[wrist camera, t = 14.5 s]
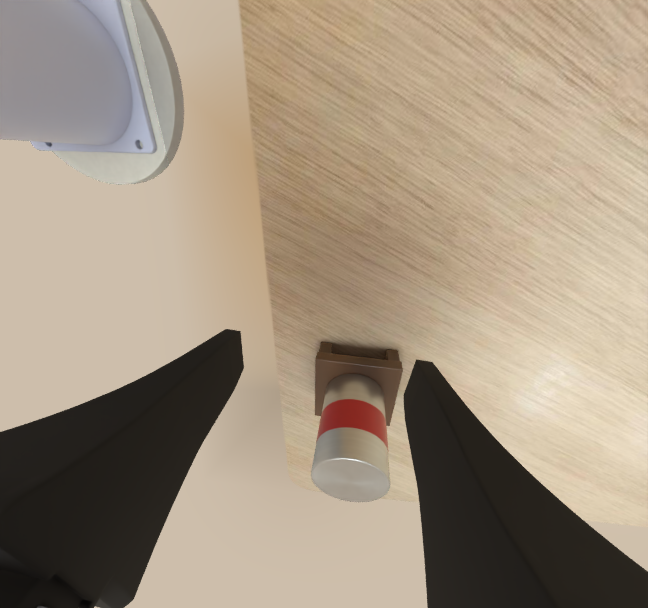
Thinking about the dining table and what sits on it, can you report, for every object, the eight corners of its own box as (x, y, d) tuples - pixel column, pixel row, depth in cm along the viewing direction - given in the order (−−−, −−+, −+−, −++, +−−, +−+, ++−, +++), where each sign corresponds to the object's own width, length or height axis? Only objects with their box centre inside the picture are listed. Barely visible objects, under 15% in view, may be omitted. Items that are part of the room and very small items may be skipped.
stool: (318, 394, 26) (314, 415, 24) (320, 340, 23) (315, 359, 21) (387, 404, 26) (389, 426, 23) (399, 349, 22) (403, 369, 20)
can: (317, 401, 23) (300, 486, 17) (338, 364, 21) (326, 448, 15) (368, 420, 24) (369, 510, 18) (394, 386, 21) (406, 477, 15)
